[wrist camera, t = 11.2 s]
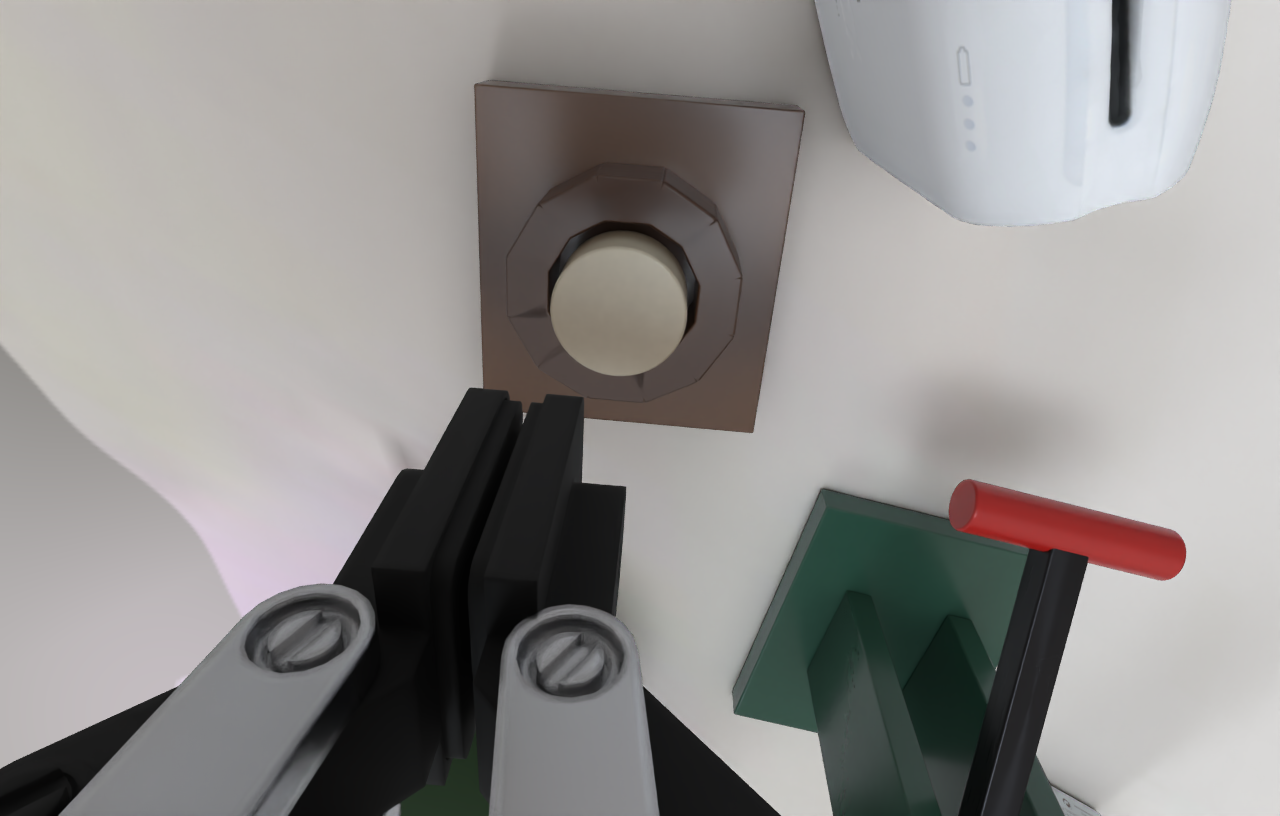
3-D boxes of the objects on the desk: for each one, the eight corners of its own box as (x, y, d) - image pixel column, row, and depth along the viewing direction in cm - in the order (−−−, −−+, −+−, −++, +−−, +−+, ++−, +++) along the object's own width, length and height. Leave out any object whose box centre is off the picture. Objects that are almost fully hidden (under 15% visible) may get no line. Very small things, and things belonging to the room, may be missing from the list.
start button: (561, 224, 20) (550, 240, 19) (693, 235, 20) (694, 253, 18) (558, 346, 22) (548, 371, 20) (681, 357, 22) (680, 382, 20)
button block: (486, 79, 21) (453, 89, 18) (798, 105, 21) (817, 119, 18) (493, 389, 26) (467, 439, 23) (750, 412, 26) (758, 465, 23)
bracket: (821, 487, 27) (912, 799, 16) (1051, 544, 28) (1288, 882, 17) (731, 692, 32) (754, 1034, 21) (927, 736, 33) (1047, 1092, 22)
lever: (947, 473, 21) (991, 485, 19) (1140, 521, 22) (1208, 539, 19) (837, 890, 22) (866, 954, 19) (1029, 931, 22) (1081, 998, 20)
